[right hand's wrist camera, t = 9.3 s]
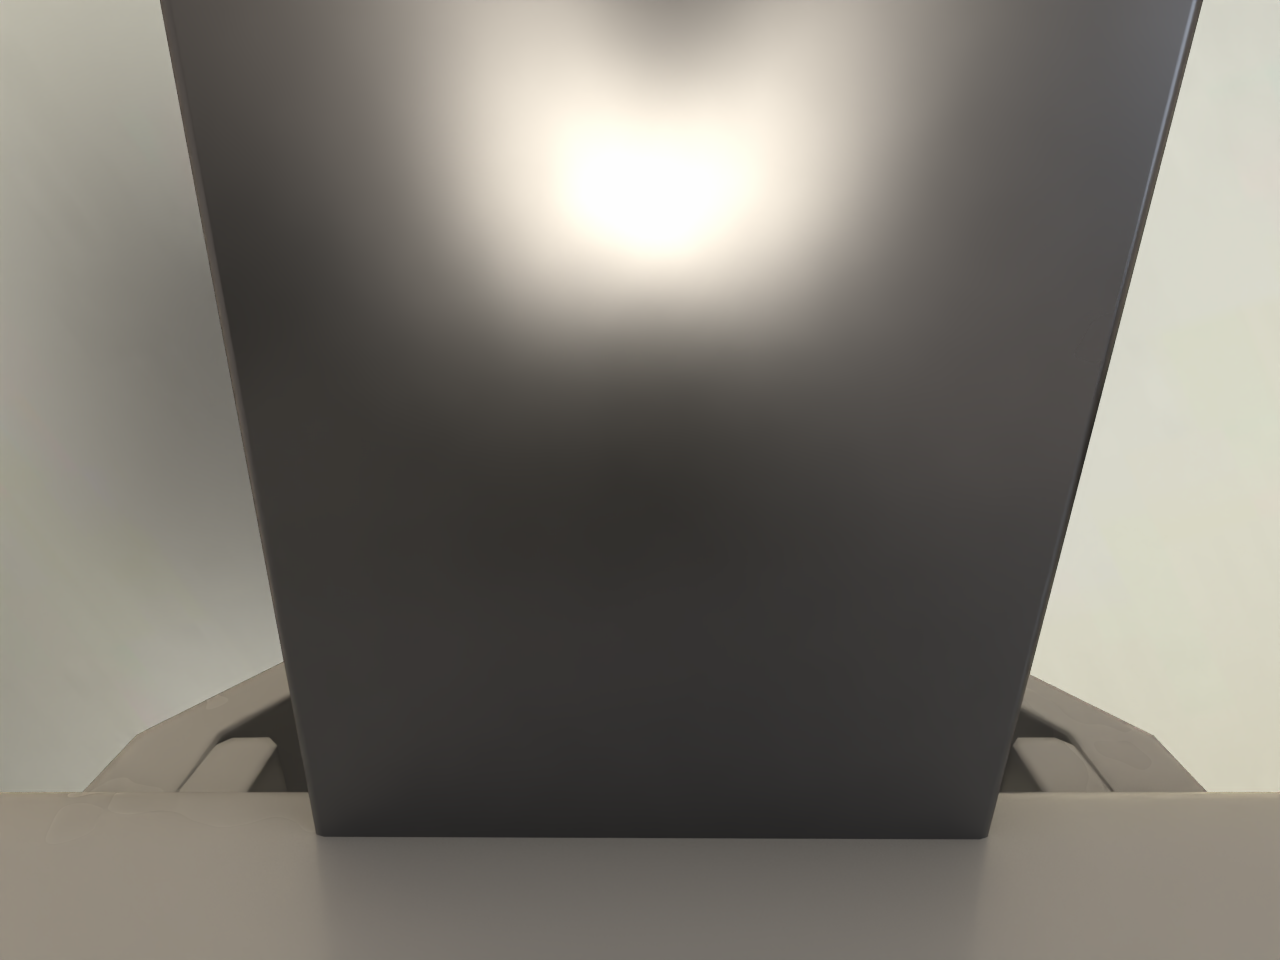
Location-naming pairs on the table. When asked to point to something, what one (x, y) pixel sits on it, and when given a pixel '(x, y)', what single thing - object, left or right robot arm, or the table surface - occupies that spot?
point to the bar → (667, 388)
